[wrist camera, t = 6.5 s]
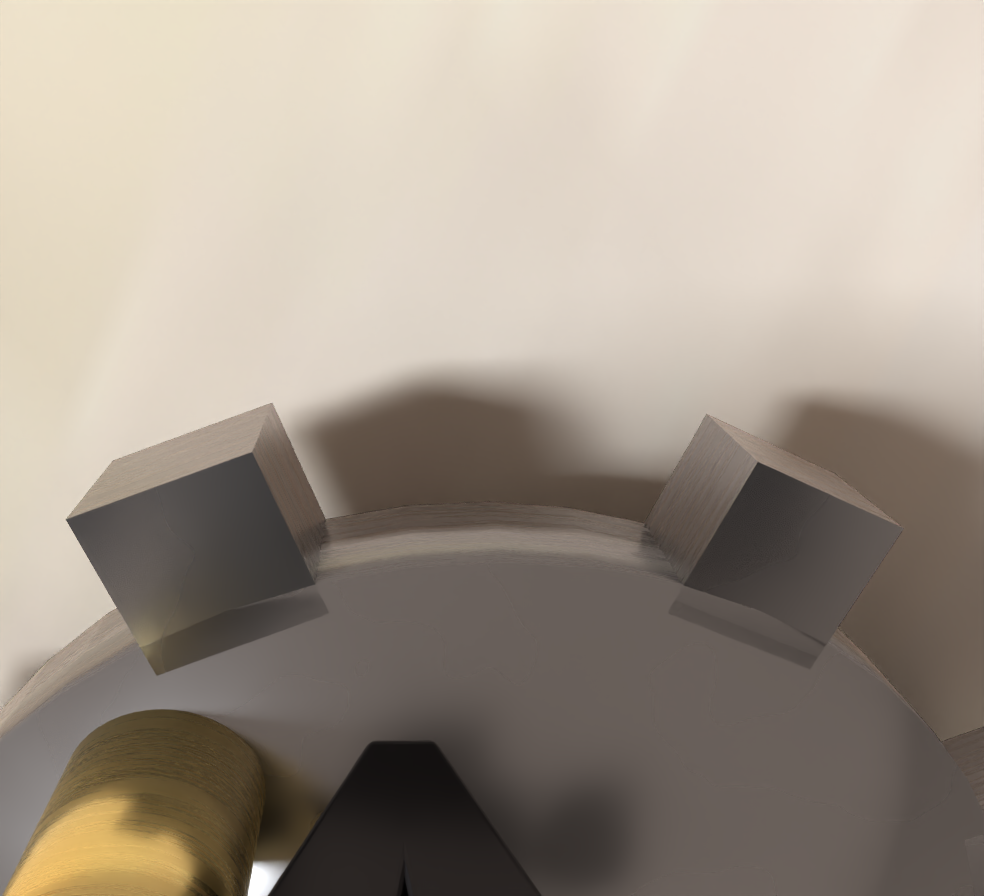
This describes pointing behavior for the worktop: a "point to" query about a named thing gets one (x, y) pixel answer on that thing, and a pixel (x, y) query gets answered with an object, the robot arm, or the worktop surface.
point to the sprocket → (483, 684)
